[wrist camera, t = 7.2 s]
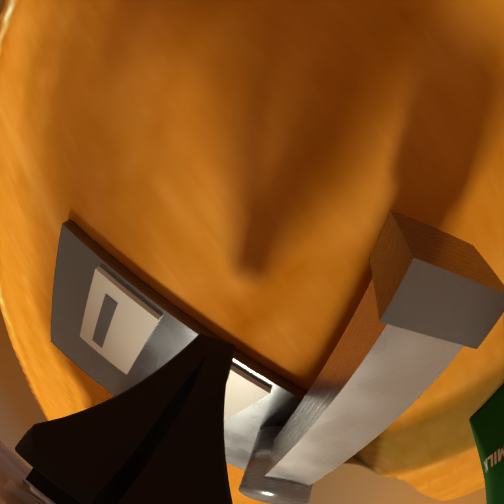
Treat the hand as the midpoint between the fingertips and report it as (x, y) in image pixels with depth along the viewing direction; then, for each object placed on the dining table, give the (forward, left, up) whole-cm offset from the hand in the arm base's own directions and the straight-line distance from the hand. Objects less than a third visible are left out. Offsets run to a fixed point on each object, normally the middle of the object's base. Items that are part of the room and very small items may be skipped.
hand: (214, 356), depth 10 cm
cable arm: (0, -6, -2) cm, 6 cm away
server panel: (-8, 0, -3) cm, 9 cm away
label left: (-6, +5, -3) cm, 8 cm away
